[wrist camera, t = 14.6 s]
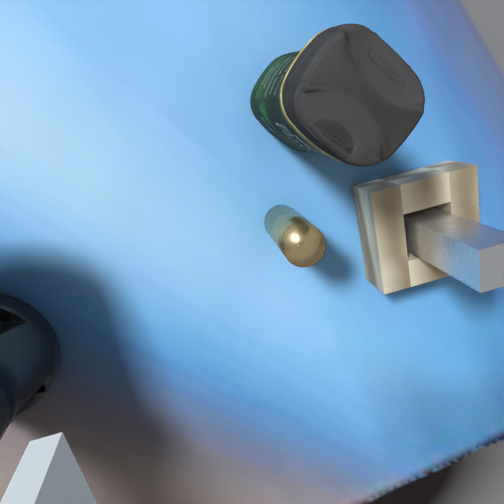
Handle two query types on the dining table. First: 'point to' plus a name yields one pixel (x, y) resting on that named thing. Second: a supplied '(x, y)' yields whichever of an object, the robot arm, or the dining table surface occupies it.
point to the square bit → (457, 247)
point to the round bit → (295, 236)
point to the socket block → (392, 220)
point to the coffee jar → (341, 97)
